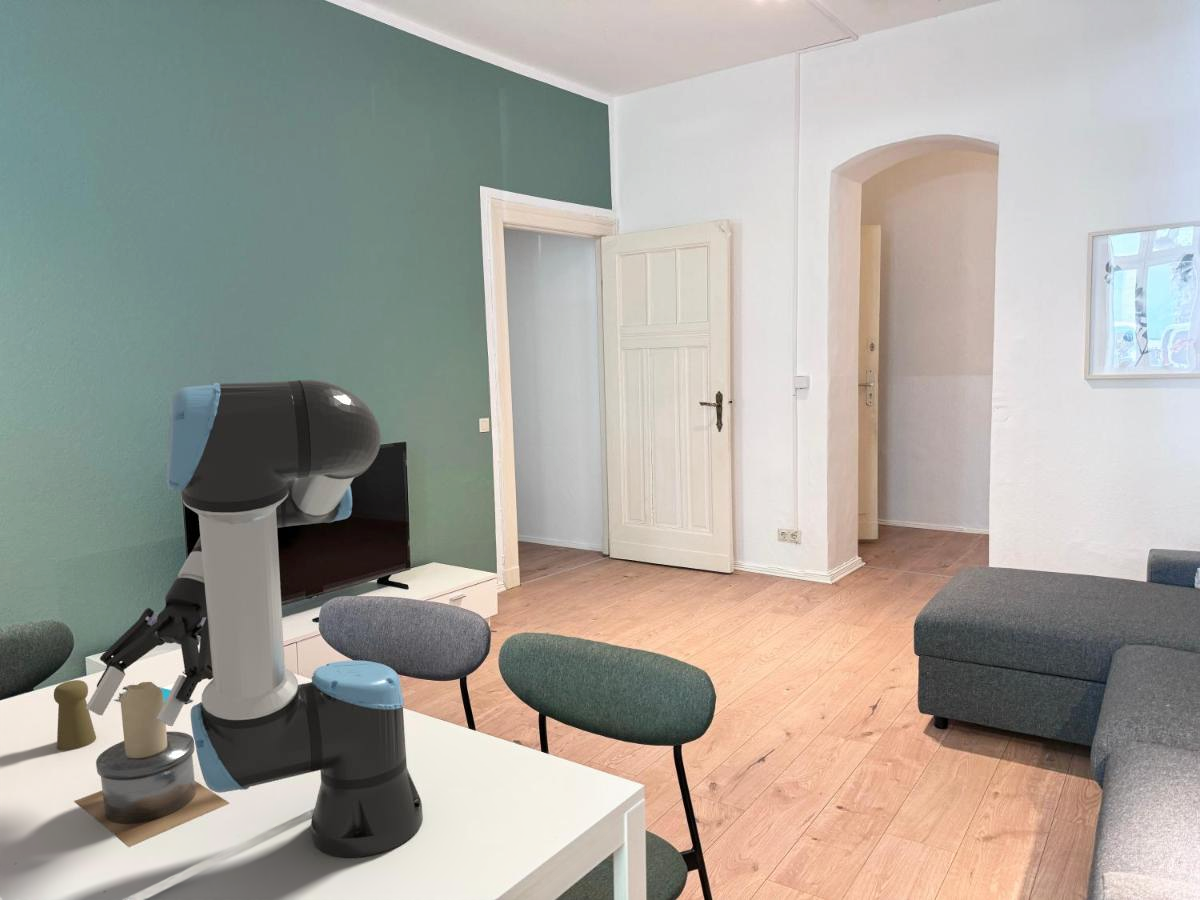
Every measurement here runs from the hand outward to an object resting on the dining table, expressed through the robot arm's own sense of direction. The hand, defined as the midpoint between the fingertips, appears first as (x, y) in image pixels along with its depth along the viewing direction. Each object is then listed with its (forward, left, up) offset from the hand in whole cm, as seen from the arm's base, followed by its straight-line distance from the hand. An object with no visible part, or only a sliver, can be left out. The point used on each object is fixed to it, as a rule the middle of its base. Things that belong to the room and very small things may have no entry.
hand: (128, 717), depth 124 cm
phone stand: (+48, -23, -16) cm, 56 cm away
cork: (+37, -4, -16) cm, 40 cm away
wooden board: (+1, -2, -16) cm, 16 cm away
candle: (+1, -2, -6) cm, 7 cm away
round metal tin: (+1, -2, -14) cm, 14 cm away
